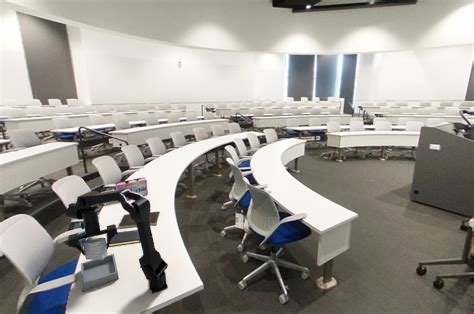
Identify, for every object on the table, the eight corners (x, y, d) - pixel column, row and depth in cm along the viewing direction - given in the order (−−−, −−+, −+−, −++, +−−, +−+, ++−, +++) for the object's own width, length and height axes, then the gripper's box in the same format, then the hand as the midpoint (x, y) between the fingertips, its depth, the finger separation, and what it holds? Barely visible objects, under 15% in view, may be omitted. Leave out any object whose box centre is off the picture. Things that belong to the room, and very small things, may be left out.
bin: (114, 259, 124) (113, 253, 123) (118, 278, 111) (117, 272, 110) (82, 269, 117) (81, 263, 116) (82, 291, 103) (81, 284, 103)
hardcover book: (157, 225, 158) (156, 222, 157) (118, 229, 154) (118, 225, 153) (159, 214, 173) (159, 211, 172) (125, 217, 169) (124, 214, 168)
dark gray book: (146, 227, 152) (142, 241, 137) (146, 230, 152) (142, 244, 138) (111, 231, 148) (103, 245, 133) (111, 234, 148) (103, 248, 134)
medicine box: (108, 254, 113) (105, 237, 111) (102, 260, 109) (100, 243, 107) (91, 253, 113) (88, 237, 111) (85, 260, 109) (82, 242, 107)
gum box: (147, 191, 213) (145, 176, 209) (149, 194, 206) (148, 179, 203) (117, 198, 199) (114, 182, 196) (119, 201, 193) (116, 185, 190)
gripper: (112, 208, 118) (116, 237, 122) (66, 218, 109) (72, 249, 113) (115, 217, 109) (119, 248, 113) (64, 229, 100) (71, 262, 103)
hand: (96, 251), depth 111 cm, fingers closed on medicine box, 9 cm apart
